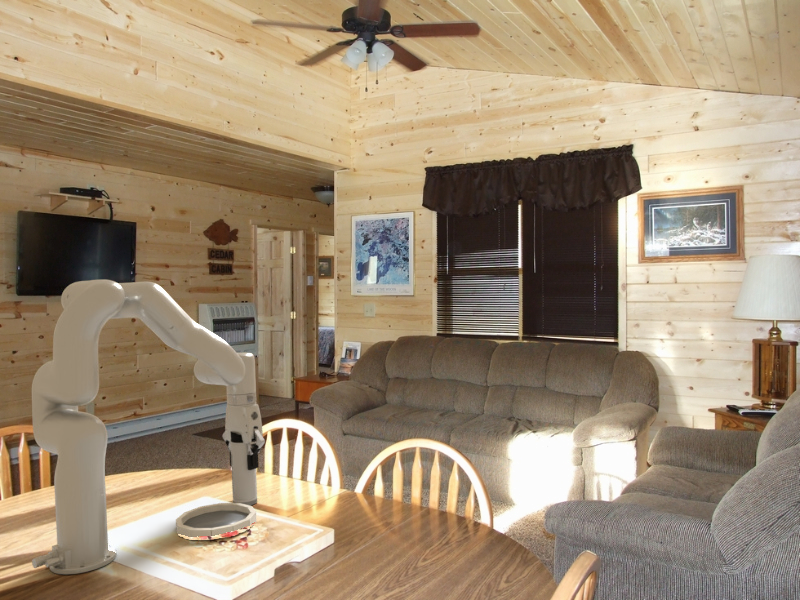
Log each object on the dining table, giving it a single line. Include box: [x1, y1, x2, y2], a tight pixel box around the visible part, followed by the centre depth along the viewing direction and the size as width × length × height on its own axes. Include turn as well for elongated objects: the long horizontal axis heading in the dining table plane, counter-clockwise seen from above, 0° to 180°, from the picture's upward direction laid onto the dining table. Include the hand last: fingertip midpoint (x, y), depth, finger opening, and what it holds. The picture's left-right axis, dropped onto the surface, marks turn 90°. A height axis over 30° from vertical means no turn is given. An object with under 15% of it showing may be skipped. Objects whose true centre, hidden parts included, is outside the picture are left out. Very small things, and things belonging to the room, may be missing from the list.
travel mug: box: [230, 432, 258, 506], centre depth 167 cm, size 6×7×20 cm
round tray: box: [175, 502, 257, 537], centre depth 151 cm, size 18×18×2 cm
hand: (244, 466), depth 167 cm, fingers closed on travel mug, 6 cm apart
